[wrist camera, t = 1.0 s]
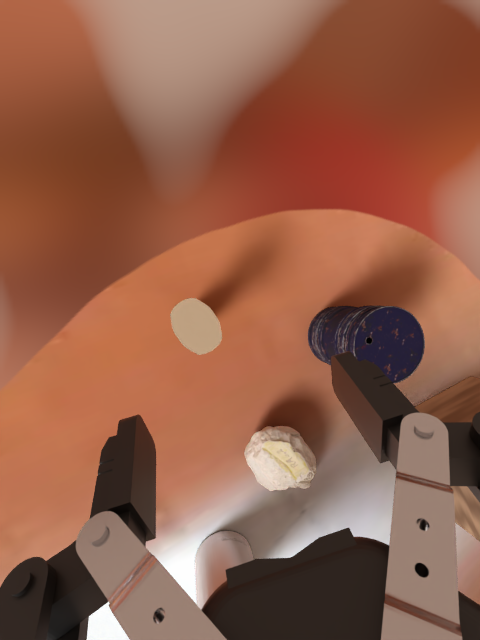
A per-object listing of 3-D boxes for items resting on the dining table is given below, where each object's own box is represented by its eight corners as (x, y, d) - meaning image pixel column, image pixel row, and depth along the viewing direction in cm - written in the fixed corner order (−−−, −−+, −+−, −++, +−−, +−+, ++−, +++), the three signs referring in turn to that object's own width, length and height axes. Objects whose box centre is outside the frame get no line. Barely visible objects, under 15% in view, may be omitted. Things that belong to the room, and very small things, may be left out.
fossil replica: (293, 489, 56) (313, 432, 57) (318, 517, 48) (341, 449, 49) (228, 470, 53) (251, 409, 54) (243, 496, 45) (270, 424, 46)
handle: (193, 295, 52) (198, 290, 37) (216, 329, 52) (230, 337, 38) (167, 312, 51) (161, 314, 36) (191, 347, 52) (194, 362, 37)
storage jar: (368, 313, 57) (433, 314, 42) (355, 369, 57) (416, 391, 42) (313, 300, 55) (361, 297, 40) (301, 358, 55) (344, 377, 40)
